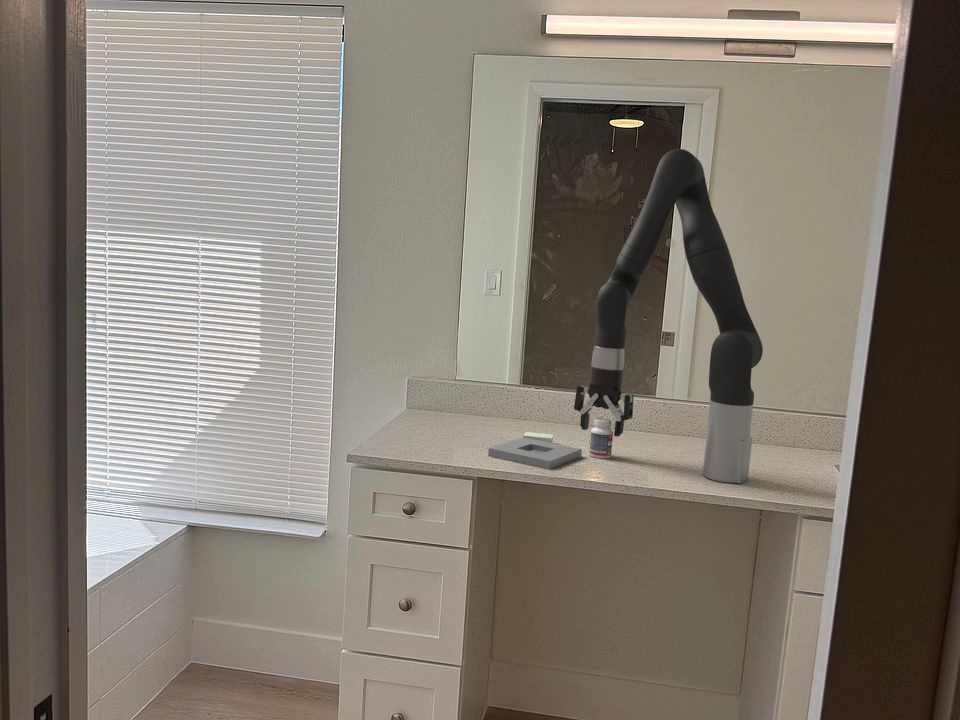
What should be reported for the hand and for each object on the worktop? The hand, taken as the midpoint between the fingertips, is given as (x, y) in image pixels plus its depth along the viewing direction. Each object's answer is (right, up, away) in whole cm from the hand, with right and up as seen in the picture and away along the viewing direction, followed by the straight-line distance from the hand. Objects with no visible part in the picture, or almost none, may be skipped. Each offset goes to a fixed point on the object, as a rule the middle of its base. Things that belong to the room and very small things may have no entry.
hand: (600, 432), depth 205 cm
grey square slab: (-16, -5, -4) cm, 17 cm away
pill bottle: (0, -6, 0) cm, 6 cm away
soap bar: (-14, -4, +9) cm, 18 cm away
